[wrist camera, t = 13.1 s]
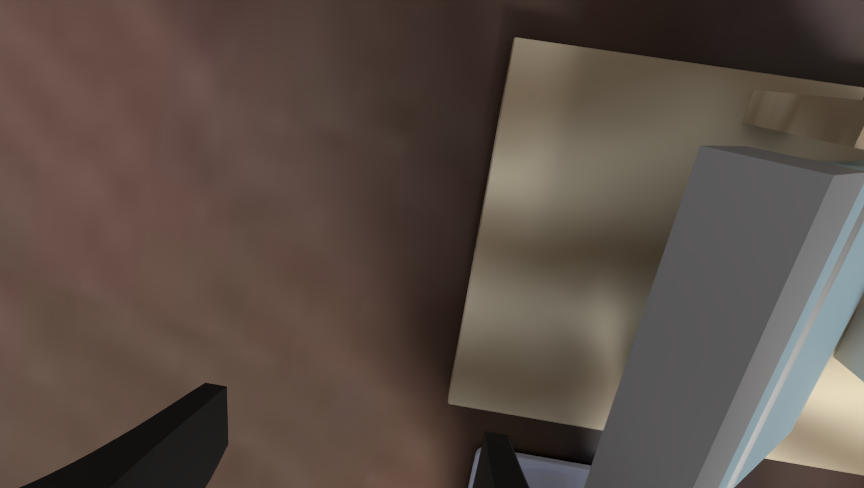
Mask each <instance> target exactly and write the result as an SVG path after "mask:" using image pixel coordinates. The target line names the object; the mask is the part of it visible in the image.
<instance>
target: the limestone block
mask: <svg viewBox="0 0 864 488" xmlns="http://www.w3.org/2000/svg"><path fill="white" fill-rule="evenodd" d="M834 358H835V359H836V360H838V361H839V362H840V363H841V364H843V365H844V366H845V367H846V368H847V369H849V370H850V371H851V372H852V373H853V374H855V375H856V376H857V377H858V378H859V379H861V380H862V381H863V382H864V299H863V301H862V302H861V304H860V306H859V308H858V310H857V312H856V314H855V316H854V318H853V320H852V322H851V324H850V326H849V328H848V330H847V332H846V334H845V336H844V338H843V340H842V342H841V344H840V346H839V347H838V349H837V351H836V353H835V355H834Z"/></svg>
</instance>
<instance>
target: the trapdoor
mask: <svg viewBox="0 0 864 488" xmlns="http://www.w3.org/2000/svg"><path fill="white" fill-rule="evenodd" d="M863 293H864V161H847V162H819V161H814V160H809V159H805V158H800V157H795V156H790V155H785V154H781V153H776V152H771V151H766V150H762V149H757V148H752V147H747V146H700V147H699V150H698V153H697V156H696V159H695V162H694V165H693V168H692V171H691V173H690V176H689V179H688V182H687V185H686V188H685V191H684V194H683V197H682V200H681V203H680V206H679V209H678V212H677V215H676V218H675V221H674V224H673V227H672V229H671V232H670V235H669V238H668V241H667V244H666V247H665V250H664V253H663V256H662V259H661V262H660V265H659V268H658V271H657V274H656V277H655V280H654V282H653V285H652V288H651V291H650V294H649V297H648V300H647V303H646V306H645V309H644V312H643V315H642V318H641V321H640V324H639V327H638V330H637V333H636V336H635V338H634V341H633V344H632V347H631V350H630V353H629V356H628V359H627V362H626V365H625V368H624V371H623V374H622V377H621V380H620V383H619V386H618V389H617V392H616V394H615V397H614V400H613V403H612V406H611V409H610V412H609V415H608V418H607V421H606V424H605V427H604V430H603V433H602V436H601V439H600V442H599V445H598V448H597V450H596V453H595V456H594V459H593V462H592V465H591V468H590V471H589V474H588V477H587V480H586V483H585V486H584V488H734V487H735V486H736V485H737V484H738V483H739V482H740V481H741V480H742V479H743V478H744V477H745V476H746V475H748V474H749V473H750V472H751V471H752V470H753V469H754V468H755V467H756V466H757V465H758V464H759V463H760V462H761V461H762V460H763V459H764V458H765V457H766V456H767V455H768V454H769V453H770V452H771V451H772V450H773V449H774V448H775V447H776V446H777V445H778V444H779V443H780V442H781V441H782V440H783V439H784V438H785V437H787V436H788V435H789V434H790V433H791V431H792V429H793V427H794V425H795V423H796V421H797V420H798V418H799V416H800V414H801V412H802V410H803V408H804V406H805V404H806V402H807V400H808V398H809V397H810V395H811V393H812V391H813V389H814V387H815V385H816V383H817V381H818V379H819V377H820V375H821V374H822V372H823V370H824V368H825V366H826V364H827V362H828V360H829V358H830V356H831V354H832V353H833V351H834V349H835V347H836V345H837V343H838V341H839V339H840V337H841V335H842V333H843V331H844V330H845V328H846V326H847V324H848V322H849V320H850V318H851V316H852V314H853V312H854V310H855V308H856V307H857V305H858V303H859V301H860V299H861V297H862V295H863Z"/></svg>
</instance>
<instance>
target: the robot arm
mask: <svg viewBox="0 0 864 488" xmlns="http://www.w3.org/2000/svg"><path fill="white" fill-rule="evenodd" d="M227 445H228V416H227V387H226V386H221V385H215V384H209V383H204V384H203V385H201V386H200V387H198V388H196V389H195V390H193V391H192V392H190V393H189V394H187V395H185V396H184V397H182V398H181V399H179V400H178V401H176V402H175V403H173V404H172V405H170V406H169V407H167V408H165V409H164V410H162V411H161V412H159V413H158V414H156V415H154V416H153V417H151V418H150V419H148V420H146V421H145V422H143V423H142V424H140V425H138V426H137V427H135V428H134V429H132V430H130V431H129V432H127V433H125V434H123V435H122V436H120V437H118V438H116V439H115V440H113V441H111V442H109V443H108V444H106V445H104V446H103V447H101V448H99V449H97V450H96V451H94V452H92V453H90V454H88V455H86V456H85V457H83V458H81V459H79V460H77V461H75V462H73V463H71V464H69V465H67V466H65V467H63V468H61V469H59V470H57V471H55V472H53V473H51V474H49V475H47V476H45V477H43V478H40V479H38V480H36V481H34V482H32V483H29V484H27V485H25V486H22V487H20V488H205V487H206V485H207V484H208V482H209V481H210V479H211V477H212V475H213V473H214V471H215V469H216V468H217V466H218V464H219V462H220V460H221V458H222V456H223V454H224V451H225V449H226V447H227ZM590 468H591V466H590V465H585V464H579V463H573V462H568V461H562V460H556V459H550V458H545V457H539V456H533V455H528V454H522V453H516V452H515V451H514V448H513V445H512V442H511V439H510V438H509V437H508V435H503V434H497V433H492V432H486V431H485V434H484V438H483V443H482V447H481V448H479V449H478V450H477V451H476V453H475V458H474V463H473V467H472V472H471V476H470V481H469V485H468V488H584V486H585V483H586V480H587V477H588V474H589V471H590Z"/></svg>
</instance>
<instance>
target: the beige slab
mask: <svg viewBox="0 0 864 488" xmlns="http://www.w3.org/2000/svg"><path fill="white" fill-rule="evenodd" d="M700 146H747V147H752V148H757V149H762V150H766V151H771V152H776V153H781V154H785V155H790V156H795V157H800V158H805V159H809V160H814V161H819V162H847V161H864V88H862V87H855V86H848V85H842V84H835V83H828V82H821V81H814V80H807V79H800V78H793V77H786V76H779V75H772V74H766V73H759V72H752V71H745V70H738V69H731V68H724V67H717V66H710V65H703V64H696V63H689V62H683V61H676V60H669V59H662V58H655V57H648V56H641V55H634V54H627V53H620V52H613V51H607V50H600V49H593V48H586V47H579V46H572V45H565V44H558V43H551V42H544V41H537V40H531V39H524V38H517V37H515V38H513V43H512V49H511V54H510V60H509V65H508V71H507V76H506V82H505V87H504V93H503V98H502V104H501V109H500V114H499V120H498V125H497V131H496V136H495V142H494V147H493V153H492V158H491V164H490V169H489V175H488V180H487V186H486V191H485V196H484V202H483V207H482V213H481V218H480V224H479V229H478V235H477V240H476V246H475V251H474V257H473V262H472V268H471V273H470V279H469V284H468V289H467V295H466V300H465V306H464V311H463V317H462V322H461V328H460V333H459V339H458V344H457V350H456V355H455V361H454V366H453V371H452V377H451V382H450V388H449V396H448V404H452V405H458V406H463V407H469V408H475V409H481V410H487V411H492V412H498V413H504V414H510V415H516V416H522V417H527V418H533V419H539V420H545V421H551V422H556V423H562V424H568V425H574V426H580V427H585V428H591V429H597V430H604V427H605V424H606V421H607V418H608V415H609V412H610V409H611V406H612V403H613V400H614V397H615V394H616V392H617V389H618V386H619V383H620V380H621V377H622V374H623V371H624V368H625V365H626V362H627V359H628V356H629V353H630V350H631V347H632V344H633V341H634V338H635V336H636V333H637V330H638V327H639V324H640V321H641V318H642V315H643V312H644V309H645V306H646V303H647V300H648V297H649V294H650V291H651V288H652V285H653V282H654V280H655V277H656V274H657V271H658V268H659V265H660V262H661V259H662V256H663V253H664V250H665V247H666V244H667V241H668V238H669V235H670V232H671V229H672V227H673V224H674V221H675V218H676V215H677V212H678V209H679V206H680V203H681V200H682V197H683V194H684V191H685V188H686V185H687V182H688V179H689V176H690V173H691V171H692V168H693V165H694V162H695V159H696V156H697V153H698V150H699V147H700ZM863 299H864V293H863V295H862V297H861V299H860V301H859V303H858V305H857V307H856V308H855V310H854V312H853V314H852V316H851V318H850V320H849V322H848V324H847V326H846V328H845V330H844V331H843V333H842V335H841V337H840V339H839V341H838V343H837V345H836V347H835V349H834V351H833V353H832V354H831V356H830V358H829V360H828V362H827V364H826V366H825V368H824V370H823V372H822V374H821V375H820V377H819V379H818V381H817V383H816V385H815V387H814V389H813V391H812V393H811V395H810V397H809V398H808V400H807V402H806V404H805V406H804V408H803V410H802V412H801V414H800V416H799V418H798V420H797V421H796V423H795V425H794V427H793V429H792V431H791V433H790V434H789V435H788V436H787V437H785V438H784V439H783V440H782V441H781V442H780V443H779V444H778V445H777V446H776V447H775V448H774V449H773V450H772V451H771V452H770V453H769V454H768V455H767V456H766V457H765V458H766V459H771V460H777V461H783V462H789V463H795V464H801V465H806V466H812V467H818V468H824V469H830V470H835V471H841V472H847V473H853V474H859V475H864V382H863V381H862V380H861V379H859V378H858V377H857V376H856V375H855V374H853V373H852V372H851V371H850V370H849V369H847V368H846V367H845V366H844V365H843V364H841V363H840V362H839V361H838V360H836V359H835V358H834V355H835V353H836V351H837V349H838V347H839V346H840V344H841V342H842V340H843V338H844V336H845V334H846V332H847V330H848V328H849V326H850V324H851V322H852V320H853V318H854V316H855V314H856V312H857V310H858V308H859V306H860V304H861V302H862V301H863Z"/></svg>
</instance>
